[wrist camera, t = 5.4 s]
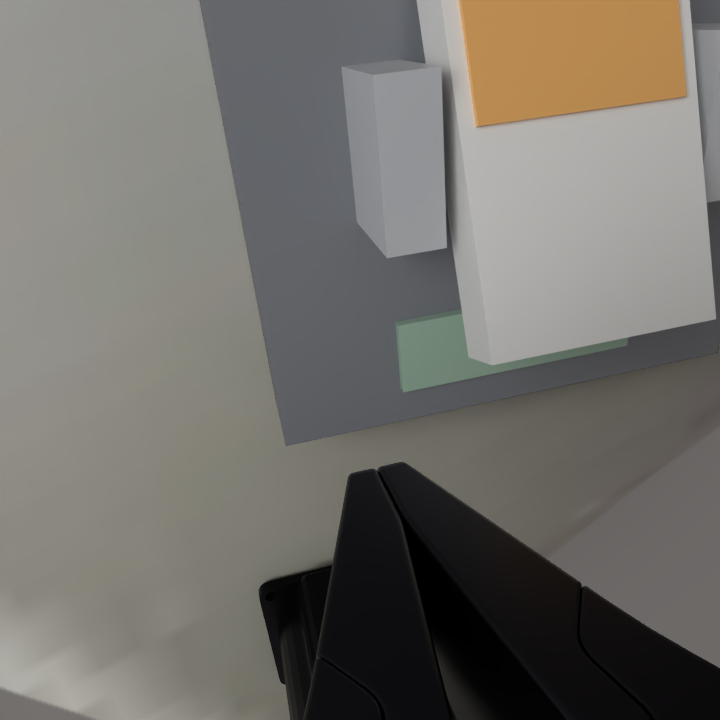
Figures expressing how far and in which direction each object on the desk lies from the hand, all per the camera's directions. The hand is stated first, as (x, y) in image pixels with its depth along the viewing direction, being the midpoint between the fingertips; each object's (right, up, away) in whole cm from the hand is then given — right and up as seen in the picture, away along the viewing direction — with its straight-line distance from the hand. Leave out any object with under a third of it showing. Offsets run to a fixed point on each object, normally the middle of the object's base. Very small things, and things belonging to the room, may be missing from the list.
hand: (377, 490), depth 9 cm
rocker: (+5, +7, +6) cm, 11 cm away
